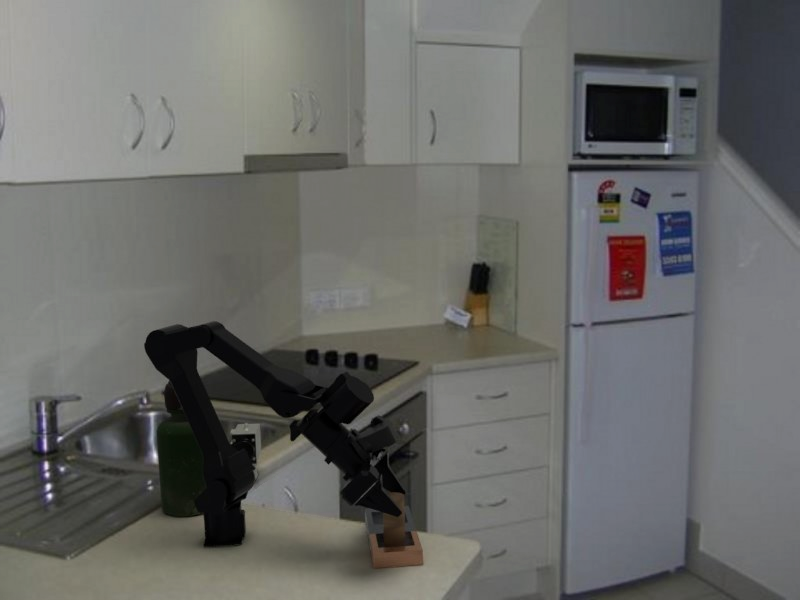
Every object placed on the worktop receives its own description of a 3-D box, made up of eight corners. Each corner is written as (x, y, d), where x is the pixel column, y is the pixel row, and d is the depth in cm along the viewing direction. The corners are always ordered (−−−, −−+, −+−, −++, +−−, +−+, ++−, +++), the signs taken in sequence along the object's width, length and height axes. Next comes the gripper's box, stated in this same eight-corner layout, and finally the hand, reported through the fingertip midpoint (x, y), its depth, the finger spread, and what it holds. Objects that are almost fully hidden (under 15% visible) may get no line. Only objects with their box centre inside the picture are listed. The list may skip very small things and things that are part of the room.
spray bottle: (150, 514, 173) (142, 385, 170) (182, 496, 183) (174, 373, 179) (197, 520, 169) (189, 388, 166) (227, 501, 179) (220, 376, 176)
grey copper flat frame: (373, 568, 147) (373, 553, 146) (365, 521, 166) (364, 508, 166) (423, 564, 148) (422, 549, 147) (408, 518, 167) (408, 505, 167)
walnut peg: (385, 559, 150) (383, 500, 149) (383, 550, 154) (381, 493, 152) (406, 557, 151) (405, 499, 149) (404, 548, 154) (402, 491, 153)
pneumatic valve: (263, 469, 198) (260, 415, 196) (256, 488, 186) (253, 430, 184) (237, 470, 197) (234, 416, 196) (229, 489, 186) (226, 431, 184)
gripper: (360, 421, 140) (434, 490, 140) (372, 392, 158) (437, 453, 159) (311, 471, 141) (384, 539, 142) (329, 436, 160) (393, 497, 160)
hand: (402, 504), depth 151 cm, fingers open, 9 cm apart
